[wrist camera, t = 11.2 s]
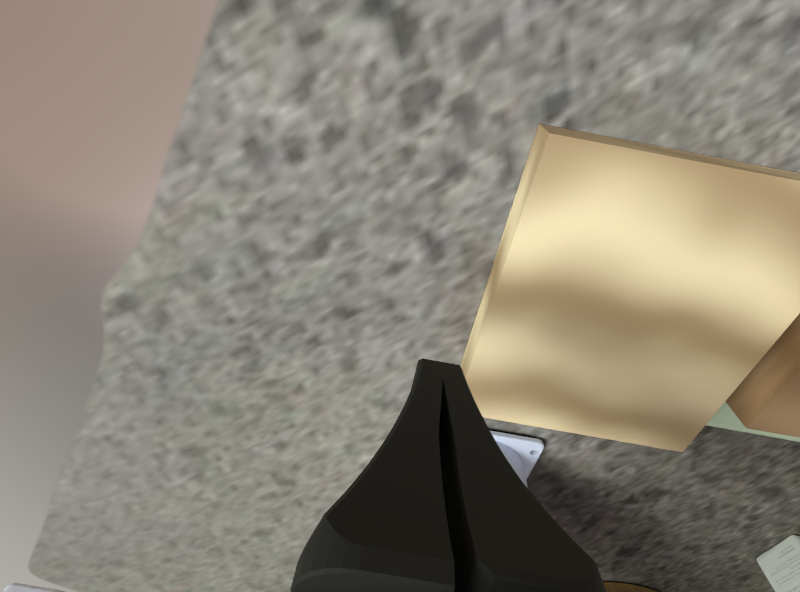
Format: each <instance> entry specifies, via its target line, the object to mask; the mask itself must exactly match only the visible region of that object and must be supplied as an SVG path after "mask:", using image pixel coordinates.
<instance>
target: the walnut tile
mask: <svg viewBox="0 0 800 592" xmlns="http://www.w3.org/2000/svg"><path fill="white" fill-rule="evenodd" d="M725 402H726V403H727V404H728V405H729V407H730V408H731V409H732V411H733V412H734V413H735V415H736V416H737V417H738V418H739V420H740V421H741V422H742V424H743V425H744V426H745V427H746V428H747V429H753V430H759V431H764V432H770V433H776V434H781V435H787V436H793V437H799V438H800V313H799V315H798V316H797V317H796V318H795V319H794V321H793V322H792V323H791V324H790V325H789V327H788V328H787V329H786V330H785V331H784V332H783V334H782V335H781V336H780V337H779V338H778V340H777V341H776V342H775V343H774V344H773V345H772V347H771V348H770V349H769V350H768V351H767V353H766V354H765V355H764V356H763V357H762V359H761V360H760V361H759V362H758V363H757V364H756V366H755V367H754V368H753V369H752V370H751V372H750V373H749V374H748V375H747V376H746V378H745V379H744V380H743V381H742V382H741V383H740V385H739V386H738V387H737V388H736V389H735V391H734V392H733V393H732V394H731V395H730V397H729V398H728V399H727V400H726V401H725Z"/></svg>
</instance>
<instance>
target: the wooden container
mask: <svg viewBox="0 0 800 592" xmlns="http://www.w3.org/2000/svg"><path fill="white" fill-rule="evenodd" d="M603 583H604V586H605V589H606V592H658V591H655V590H653V589H650V588H646V587H642V586H638V585H633V584H627V583H618V582H603Z"/></svg>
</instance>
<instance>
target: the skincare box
mask: <svg viewBox="0 0 800 592" xmlns="http://www.w3.org/2000/svg"><path fill="white" fill-rule="evenodd" d="M756 560H757V562H758V564H759V566H760V567H761V569H762V571H763V572H764V574H765V576H766V577H767V579H768V581H769V583H770V584H771V586H772V587H773V589H774V591H775V592H800V536H797V535H790V536H789V537H787V538H786V539H785V540H783V541H782V542H780V543H779V544H777V545H776V546H774V547H772V548H771V549H769V550H768V551H766V552H764V553H763V554H761V555H760V556H759V557H757V558H756Z"/></svg>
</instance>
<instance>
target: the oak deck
mask: <svg viewBox="0 0 800 592" xmlns="http://www.w3.org/2000/svg"><path fill="white" fill-rule="evenodd" d="M799 313H800V173H795V172H790V171H785V170H780V169H774V168H769V167H764V166H759V165H753V164H748V163H743V162H738V161H732V160H727V159H722V158H717V157H712V156H706V155H701V154H696V153H691V152H685V151H680V150H675V149H670V148H664V147H659V146H654V145H649V144H643V143H638V142H633V141H628V140H623V139H617V138H612V137H607V136H602V135H596V134H591V133H586V132H581V131H575V130H570V129H565V128H560V127H555V126H549V125H544V124H539V125H538V128H537V131H536V134H535V137H534V140H533V144H532V147H531V150H530V153H529V156H528V159H527V162H526V165H525V168H524V171H523V174H522V177H521V181H520V184H519V187H518V190H517V193H516V196H515V199H514V202H513V205H512V208H511V211H510V214H509V217H508V221H507V224H506V227H505V230H504V233H503V236H502V239H501V242H500V245H499V248H498V251H497V254H496V258H495V261H494V264H493V267H492V270H491V273H490V276H489V279H488V282H487V285H486V288H485V291H484V295H483V298H482V301H481V304H480V307H479V310H478V313H477V316H476V319H475V322H474V325H473V328H472V331H471V335H470V338H469V341H468V344H467V347H466V350H465V353H464V356H463V359H462V362H461V365H460V367H461V368H462V371H463V373H464V376H465V379H466V381H467V384H468V386H469V389H470V391H471V393H472V396H473V398H474V400H475V402H476V404H477V407H478V409H479V411H480V413H481V415H482V417H485V418H490V419H496V420H502V421H507V422H513V423H519V424H525V425H530V426H536V427H542V428H547V429H553V430H559V431H564V432H570V433H576V434H581V435H587V436H593V437H598V438H604V439H610V440H615V441H621V442H627V443H632V444H638V445H644V446H649V447H655V448H661V449H667V450H672V451H678V452H683V451H684V450H685V449H686V448H687V446H688V445H689V444H690V443H691V442H692V440H693V439H694V438H695V437H696V436H697V434H698V433H699V432H700V431H701V430H702V429H703V427H704V426H705V425H706V424H707V423H708V421H709V420H710V419H711V418H712V417H713V415H714V414H715V413H716V412H717V411H718V410H719V408H720V407H721V406H722V405H723V404H724V402H725V401H726V400H727V399H728V398H729V397H730V395H731V394H732V393H733V392H734V391H735V389H736V388H737V387H738V386H739V385H740V383H741V382H742V381H743V380H744V379H745V378H746V376H747V375H748V374H749V373H750V372H751V370H752V369H753V368H754V367H755V366H756V364H757V363H758V362H759V361H760V360H761V359H762V357H763V356H764V355H765V354H766V353H767V351H768V350H769V349H770V348H771V347H772V345H773V344H774V343H775V342H776V341H777V340H778V338H779V337H780V336H781V335H782V334H783V332H784V331H785V330H786V329H787V328H788V327H789V325H790V324H791V323H792V322H793V321H794V319H795V318H796V317H797V316H798V315H799Z"/></svg>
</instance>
